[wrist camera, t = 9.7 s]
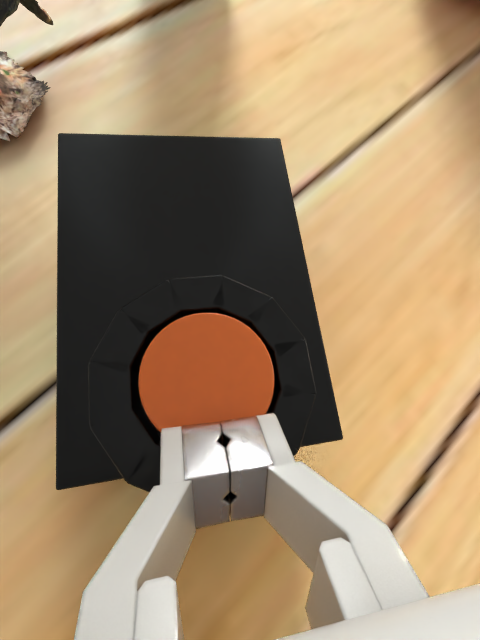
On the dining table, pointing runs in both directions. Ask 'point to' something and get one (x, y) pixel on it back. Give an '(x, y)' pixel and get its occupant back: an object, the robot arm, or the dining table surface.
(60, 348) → the black button box
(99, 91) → the dining table surface
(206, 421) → the round orange button
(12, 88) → the plant with pod
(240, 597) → the dining table surface
